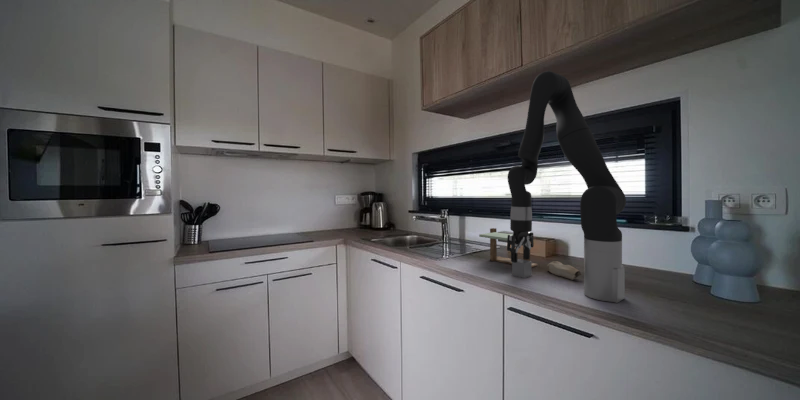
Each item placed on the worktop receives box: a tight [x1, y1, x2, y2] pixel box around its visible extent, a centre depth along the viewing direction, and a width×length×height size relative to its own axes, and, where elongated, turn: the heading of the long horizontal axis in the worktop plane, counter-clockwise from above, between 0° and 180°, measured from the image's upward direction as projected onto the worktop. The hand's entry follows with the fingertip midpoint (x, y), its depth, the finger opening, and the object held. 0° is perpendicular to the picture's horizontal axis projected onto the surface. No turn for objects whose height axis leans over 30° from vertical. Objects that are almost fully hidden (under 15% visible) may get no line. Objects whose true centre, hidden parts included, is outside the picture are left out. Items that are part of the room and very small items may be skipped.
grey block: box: [511, 258, 533, 279], centre depth 107 cm, size 5×5×6 cm
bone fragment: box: [546, 260, 582, 281], centre depth 106 cm, size 14×6×5 cm, turn 3°
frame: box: [489, 227, 538, 268], centre depth 126 cm, size 19×7×15 cm, turn 36°
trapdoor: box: [478, 230, 513, 244], centre depth 123 cm, size 14×18×4 cm
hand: (520, 260), depth 107 cm, fingers open, 8 cm apart
